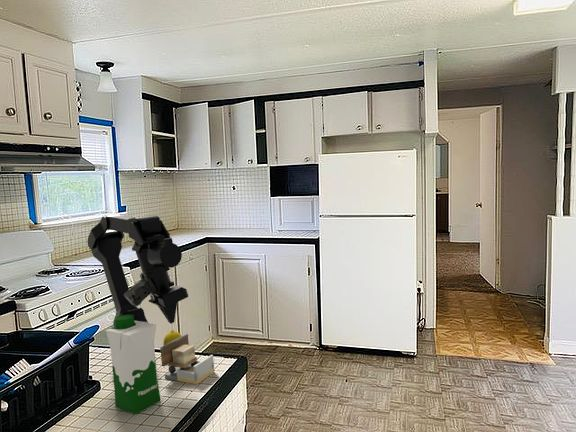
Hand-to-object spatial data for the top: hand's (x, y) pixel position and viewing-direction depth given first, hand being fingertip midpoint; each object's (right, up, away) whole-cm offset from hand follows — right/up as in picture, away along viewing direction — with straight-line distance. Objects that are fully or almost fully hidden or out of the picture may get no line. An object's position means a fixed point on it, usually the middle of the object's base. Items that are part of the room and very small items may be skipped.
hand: (171, 322), depth 115 cm
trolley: (+3, -13, +2) cm, 13 cm away
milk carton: (-4, -16, -13) cm, 21 cm away
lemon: (-3, -13, +13) cm, 19 cm away
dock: (+4, -14, +1) cm, 14 cm away
